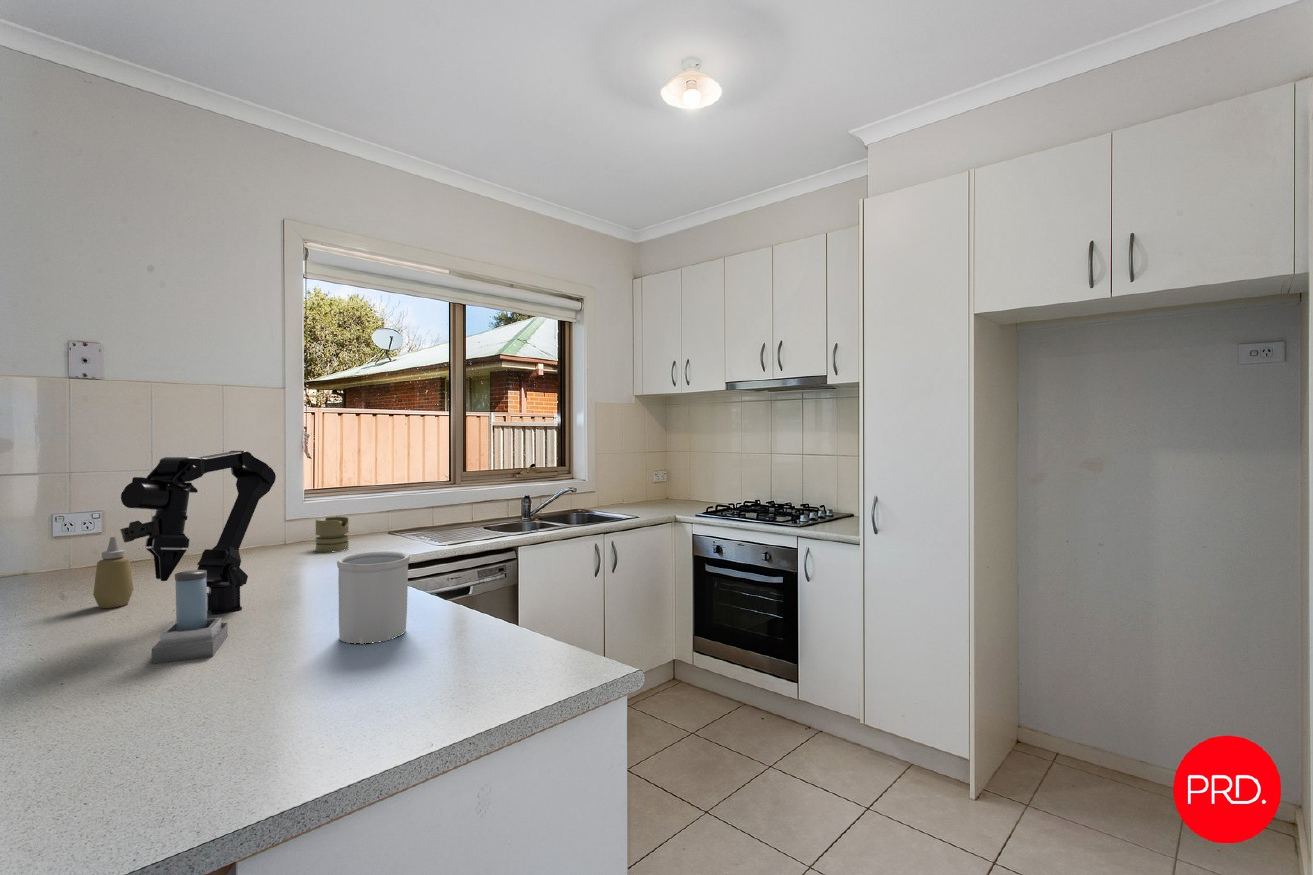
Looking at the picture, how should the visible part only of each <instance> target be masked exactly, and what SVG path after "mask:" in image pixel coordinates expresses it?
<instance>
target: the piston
mask: <svg viewBox="0 0 1313 875" xmlns="http://www.w3.org/2000/svg"><path fill="white" fill-rule="evenodd" d="M348 534H349V517H347V516H328V517H325V520H319V519H315V536H317V537H315V552H316V551H320V552H319V553H323V552H327V553H333V552H332V551H339V550H344V549H347V550H349V549H348V548H350V547H349V545H350V544H349V542H350V540H349V535H348ZM344 551H345V550H344ZM339 552H340V551H339Z"/></svg>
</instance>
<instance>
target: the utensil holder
mask: <svg viewBox="0 0 1313 875" xmlns="http://www.w3.org/2000/svg"><path fill="white" fill-rule="evenodd" d="M409 563H410V554H409V553H406V552H402V551H397V550H396V551H395V550H393V551H392V550H376V551H373V550H372V551H364V552H356V553H350V554H347V555H346V554H345V555H344V556H340V557H339V558H337V560H336V565H337V568H338V579H337V580H338V632H339V633H338V634H339V640H340V641H341V642H343V643H345V642H346V643H345V644H350V643H354V644H353V645H357V644H356V643H360V644H359V645H367V644H366V643H372V642H379V641H385V642H387V641H386V640H389V639H392V638H394V637H396V636H399V635H401V634H402V633H403V632H405V633H406V631H405V630H406V629H407V617H408V615H407V614H408V585H409V584H408V581H409V579H408V577H409ZM392 640H393V639H392ZM389 641H390V640H389ZM364 643H365V644H364Z"/></svg>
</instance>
